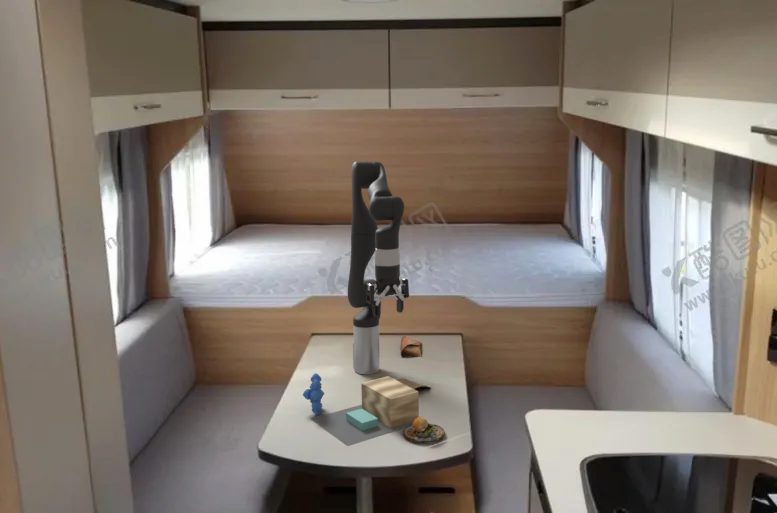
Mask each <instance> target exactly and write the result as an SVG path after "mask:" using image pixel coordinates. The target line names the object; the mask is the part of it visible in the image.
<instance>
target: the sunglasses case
mask: <svg viewBox="0 0 777 513" xmlns="http://www.w3.org/2000/svg"><path fill="white" fill-rule="evenodd" d="M400 356H401V358H422V357H423V355H422V342H421V341H419V340H416V339H413V338H411V337H410V336H408V335H403V336H402V337H401V340H400Z"/></svg>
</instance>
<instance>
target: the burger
mask: <svg viewBox="0 0 777 513" xmlns="http://www.w3.org/2000/svg"><path fill="white" fill-rule="evenodd" d="M416 417H417V416H416ZM445 435H446V432H445V430H444V429H443V427H442V426H440V425H437V424H434V423H430V422H428V420H427V419H426V418H425V417H423V416H420V417H418V418H416V419H415V420H414V422H413V424H412V425H409V426H407V427H406V428H404V429H403V432H402V436H403V438H404V440H405V441H407V442H411V443H413V444H417V445H427V444H430V445H431V446H433V445H435V444H436V445H437V444H439V443H442V442H443V439H444V436H445Z"/></svg>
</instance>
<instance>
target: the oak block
mask: <svg viewBox="0 0 777 513" xmlns="http://www.w3.org/2000/svg"><path fill="white" fill-rule="evenodd" d="M395 379H396V378H393V377H391V376H388V375H387V376H383V377H380V378H376V379H372V380H369V381H364V382H361V388H360V389H361V405H362V409H363V410H365V411H367V412H368V413H370V414H372V415H373V416H375V417H376V418H378V421H380V422H381V423H383V424H385V425H386V426H388V427H389V428H395V427H398V426H401V425H404V424H408V423H411V422H414V420H415V419H416V418H418V417H419V415H420V412H419V410H420V409H419V407H420V406H419V404H420V402H419V398H420V397H419V391H418V390H417V389H412V388H410V387H408V386H407V385H405V384H403V383H401V382H399V381H397V380H395ZM416 416H417V417H416Z"/></svg>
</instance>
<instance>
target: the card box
mask: <svg viewBox="0 0 777 513" xmlns="http://www.w3.org/2000/svg"><path fill="white" fill-rule="evenodd" d="M346 420H347V421H348V422H350V423H351V424H353V425H354V426H356V427H357V428H359V429H360V430H362V431H364V430H367V429H370V428H374V427H377V426H378V418H376V417H375V416H373V415H372V414H370V413H368V412H367V411H365V410H363V409H358V410H355V411H351V412H347V413H346Z"/></svg>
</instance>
